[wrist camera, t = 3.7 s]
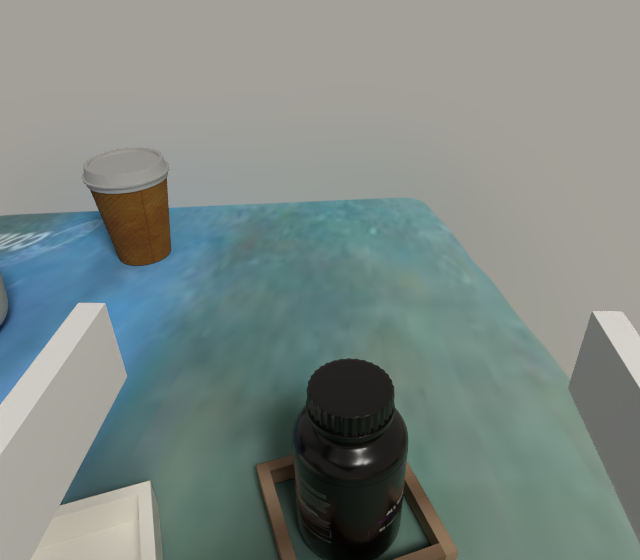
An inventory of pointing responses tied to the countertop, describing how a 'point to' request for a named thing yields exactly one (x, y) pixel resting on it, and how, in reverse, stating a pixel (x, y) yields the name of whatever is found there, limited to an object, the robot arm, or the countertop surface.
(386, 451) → the supplement bottle
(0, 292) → the teacup
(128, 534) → the cream tray
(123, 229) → the disposable coffee cup
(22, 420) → the robot arm
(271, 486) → the walnut collar
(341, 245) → the countertop surface
